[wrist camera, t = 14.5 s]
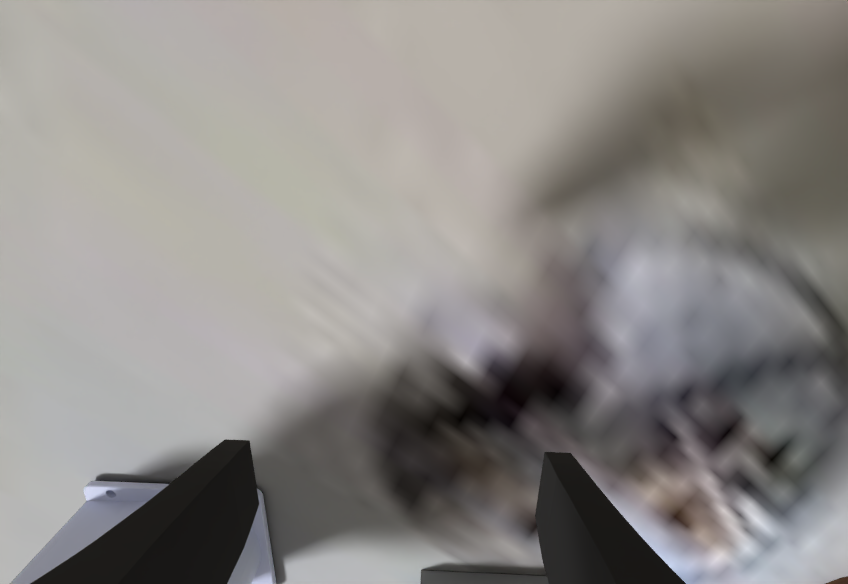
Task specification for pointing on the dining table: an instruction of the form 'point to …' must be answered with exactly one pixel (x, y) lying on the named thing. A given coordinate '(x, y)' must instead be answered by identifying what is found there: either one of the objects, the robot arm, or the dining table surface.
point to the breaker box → (478, 578)
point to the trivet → (839, 581)
